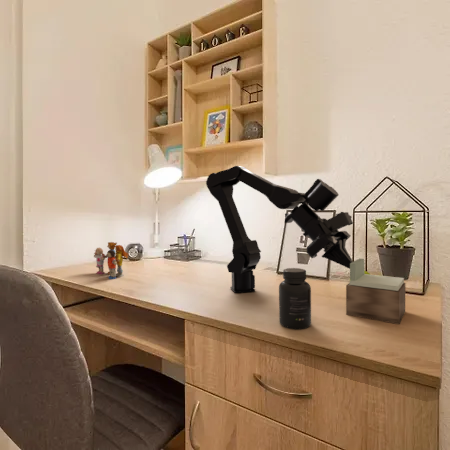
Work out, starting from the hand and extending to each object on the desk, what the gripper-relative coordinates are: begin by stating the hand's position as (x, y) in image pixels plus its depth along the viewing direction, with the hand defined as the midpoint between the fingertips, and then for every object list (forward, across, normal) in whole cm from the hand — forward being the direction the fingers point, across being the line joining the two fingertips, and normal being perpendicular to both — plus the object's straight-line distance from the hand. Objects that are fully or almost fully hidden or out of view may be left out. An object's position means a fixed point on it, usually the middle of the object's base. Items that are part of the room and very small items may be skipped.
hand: (353, 268), depth 75 cm
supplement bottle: (+2, -18, +13) cm, 22 cm away
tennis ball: (+6, +18, +9) cm, 21 cm away
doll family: (-57, -8, +72) cm, 93 cm away
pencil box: (+11, 0, +4) cm, 11 cm away
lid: (+6, 0, -1) cm, 6 cm away
